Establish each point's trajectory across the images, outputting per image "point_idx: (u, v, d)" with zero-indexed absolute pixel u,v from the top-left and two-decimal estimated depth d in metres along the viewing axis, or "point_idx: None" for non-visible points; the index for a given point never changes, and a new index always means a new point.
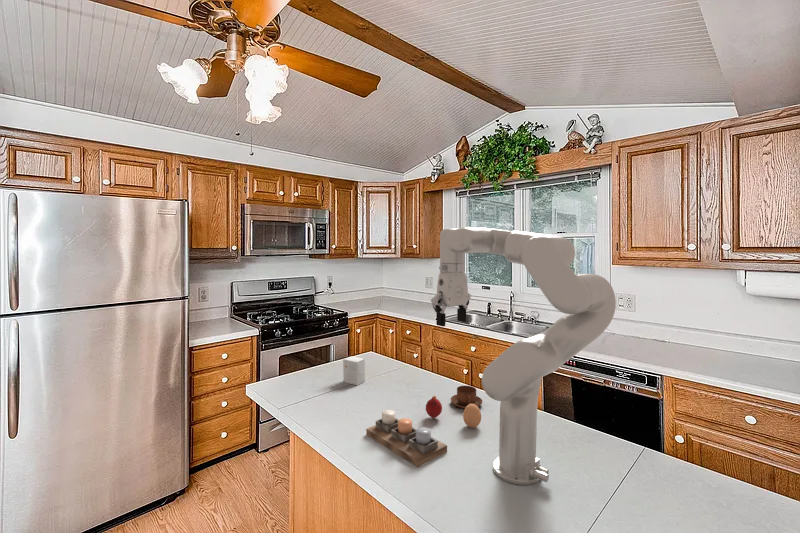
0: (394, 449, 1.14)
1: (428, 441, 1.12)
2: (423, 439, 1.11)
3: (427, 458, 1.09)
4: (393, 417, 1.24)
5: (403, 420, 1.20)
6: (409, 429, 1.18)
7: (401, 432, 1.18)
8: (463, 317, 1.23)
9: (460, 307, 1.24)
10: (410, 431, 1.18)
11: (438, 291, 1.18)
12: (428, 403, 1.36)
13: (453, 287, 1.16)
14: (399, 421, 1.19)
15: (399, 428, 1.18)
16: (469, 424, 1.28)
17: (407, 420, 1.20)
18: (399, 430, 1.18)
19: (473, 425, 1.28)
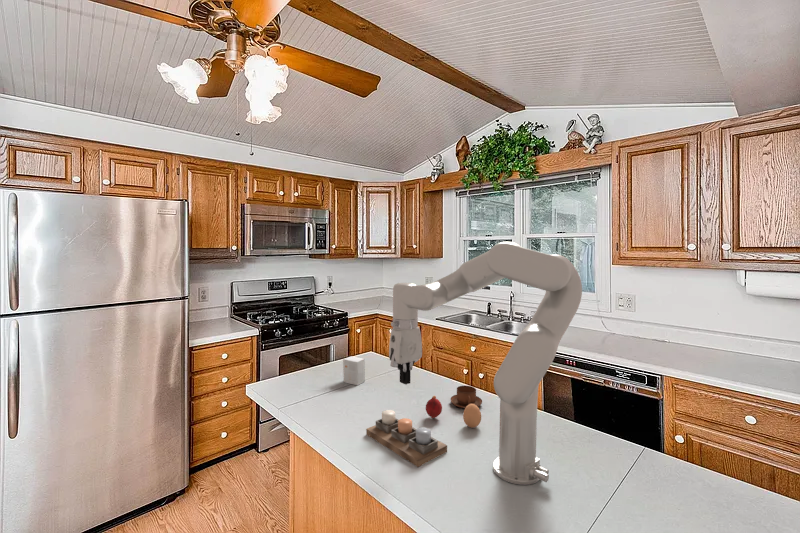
0: (394, 449, 1.14)
1: (428, 441, 1.12)
2: (423, 439, 1.11)
3: (427, 458, 1.09)
4: (393, 417, 1.24)
5: (403, 420, 1.20)
6: (409, 429, 1.18)
7: (401, 432, 1.18)
8: None
9: None
10: (410, 431, 1.18)
11: (390, 347, 1.15)
12: (428, 403, 1.36)
13: (405, 343, 1.14)
14: (399, 421, 1.19)
15: (399, 428, 1.18)
16: (469, 424, 1.28)
17: (407, 420, 1.20)
18: (399, 430, 1.18)
19: (473, 425, 1.28)
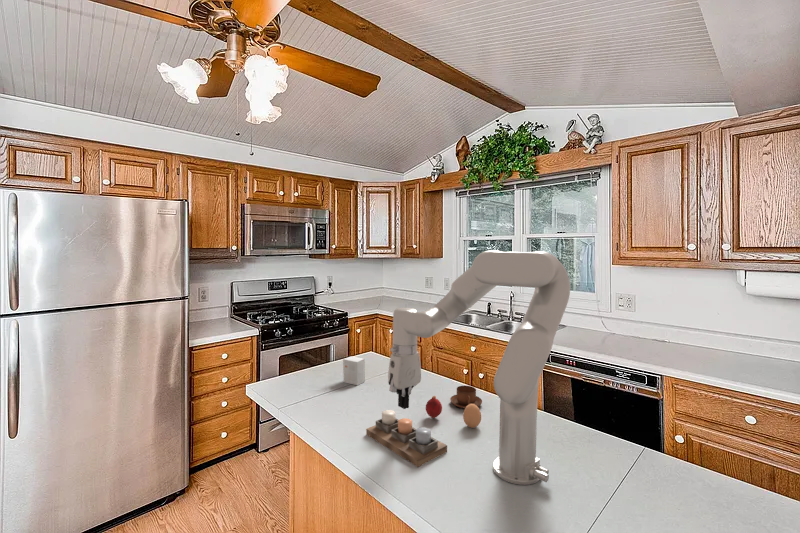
0: (394, 449, 1.14)
1: (428, 441, 1.12)
2: (423, 439, 1.11)
3: (427, 458, 1.09)
4: (393, 417, 1.24)
5: (403, 420, 1.20)
6: (409, 429, 1.18)
7: (401, 432, 1.18)
8: None
9: None
10: (410, 431, 1.18)
11: (389, 372, 1.16)
12: (428, 403, 1.36)
13: (404, 369, 1.15)
14: (399, 421, 1.19)
15: (399, 428, 1.18)
16: (469, 424, 1.28)
17: (407, 420, 1.20)
18: (399, 430, 1.18)
19: (473, 425, 1.28)
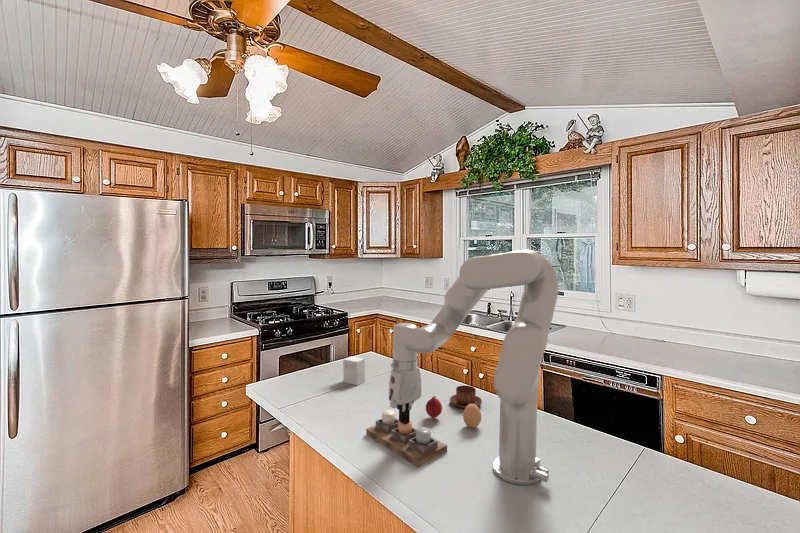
0: (394, 449, 1.14)
1: (428, 441, 1.12)
2: (423, 439, 1.11)
3: (427, 458, 1.09)
4: (393, 417, 1.24)
5: None
6: (409, 430, 1.18)
7: (401, 433, 1.18)
8: None
9: None
10: (410, 432, 1.18)
11: (390, 388, 1.16)
12: (428, 403, 1.36)
13: (405, 385, 1.15)
14: (399, 422, 1.19)
15: (399, 429, 1.18)
16: (469, 424, 1.28)
17: None
18: (399, 431, 1.18)
19: (473, 425, 1.28)
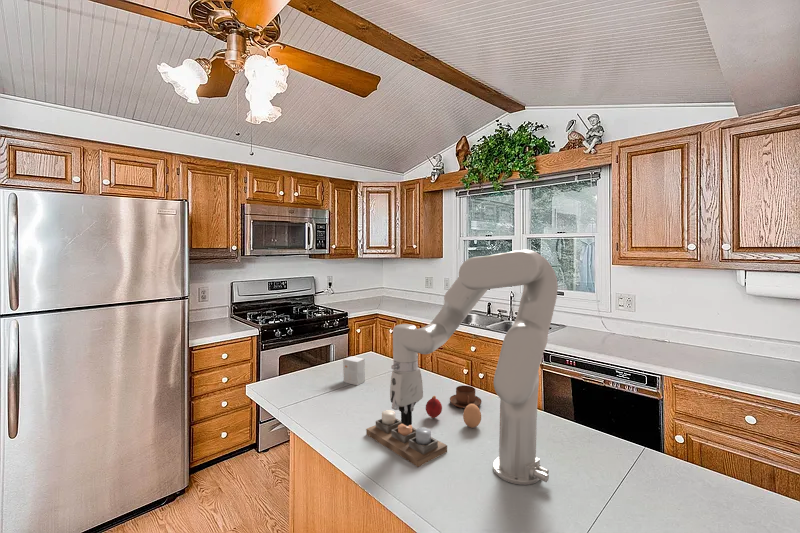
0: (394, 449, 1.14)
1: (428, 441, 1.12)
2: (423, 439, 1.11)
3: (427, 458, 1.09)
4: (393, 417, 1.24)
5: (403, 425, 1.20)
6: None
7: None
8: None
9: None
10: None
11: (391, 390, 1.16)
12: (428, 403, 1.36)
13: (406, 386, 1.15)
14: (399, 426, 1.20)
15: None
16: (469, 424, 1.28)
17: None
18: None
19: (473, 425, 1.28)
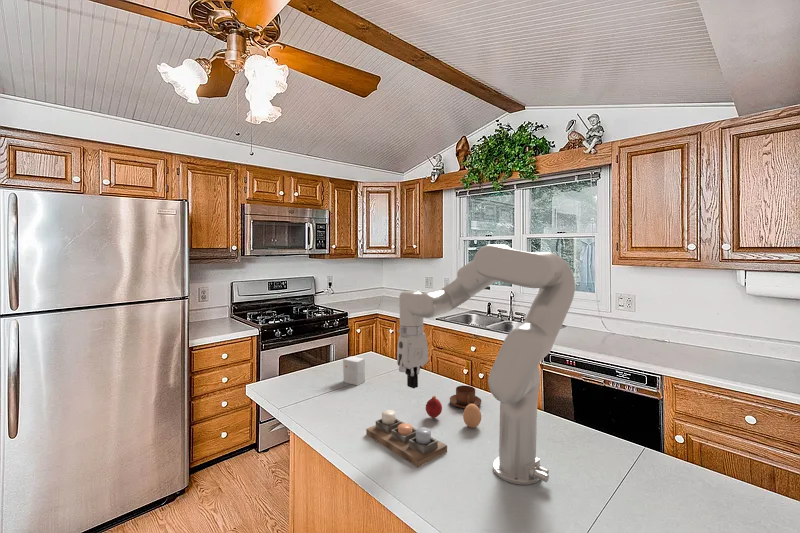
0: (394, 449, 1.14)
1: (428, 441, 1.12)
2: (423, 439, 1.11)
3: (427, 458, 1.09)
4: (393, 417, 1.24)
5: (403, 425, 1.20)
6: None
7: None
8: None
9: None
10: None
11: (398, 353, 1.21)
12: (428, 403, 1.36)
13: (413, 349, 1.20)
14: (399, 426, 1.20)
15: None
16: (469, 424, 1.28)
17: (407, 425, 1.20)
18: None
19: (473, 425, 1.28)
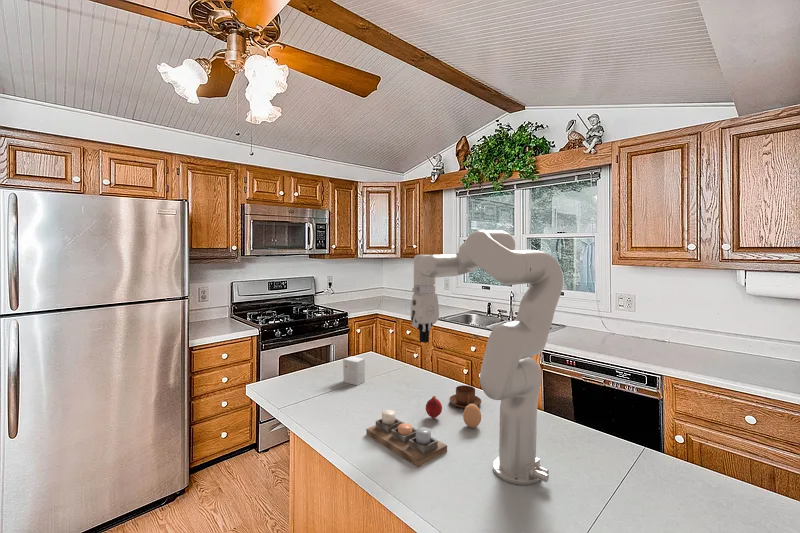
0: (394, 449, 1.14)
1: (428, 441, 1.12)
2: (423, 439, 1.11)
3: (427, 458, 1.09)
4: (393, 417, 1.24)
5: (403, 425, 1.20)
6: None
7: None
8: None
9: None
10: None
11: (412, 310, 1.33)
12: (428, 403, 1.36)
13: (425, 306, 1.32)
14: (399, 426, 1.20)
15: None
16: (469, 424, 1.28)
17: (407, 425, 1.20)
18: None
19: (473, 425, 1.28)
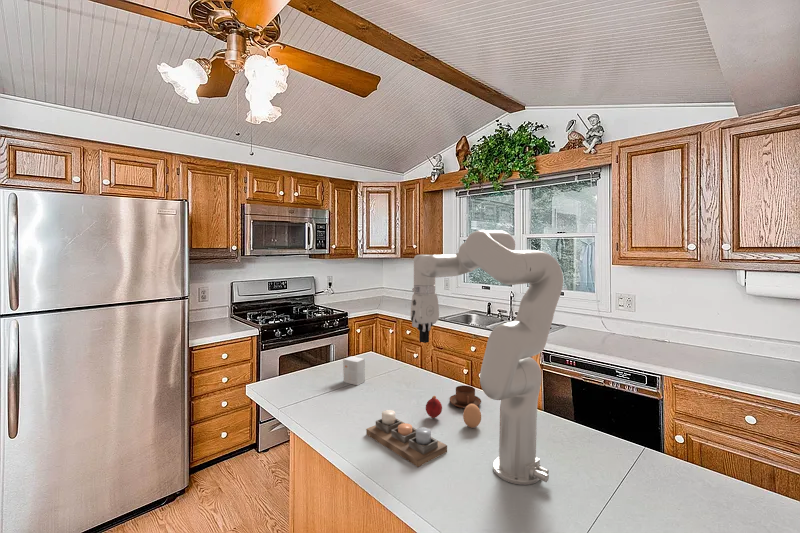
0: (394, 449, 1.14)
1: (428, 441, 1.12)
2: (423, 439, 1.11)
3: (427, 458, 1.09)
4: (393, 417, 1.24)
5: (403, 425, 1.20)
6: None
7: None
8: None
9: None
10: None
11: (412, 310, 1.33)
12: (428, 403, 1.36)
13: (425, 306, 1.32)
14: (399, 426, 1.20)
15: None
16: (469, 424, 1.28)
17: (407, 425, 1.20)
18: None
19: (473, 425, 1.28)
